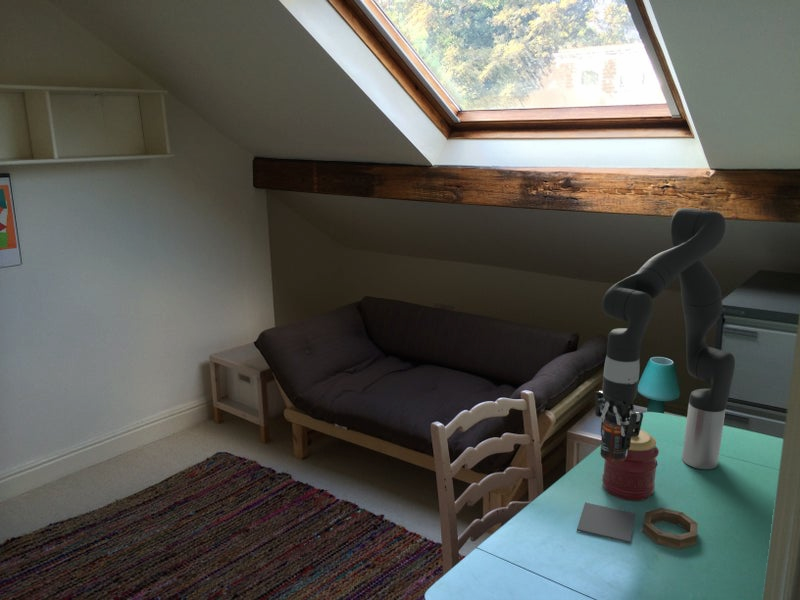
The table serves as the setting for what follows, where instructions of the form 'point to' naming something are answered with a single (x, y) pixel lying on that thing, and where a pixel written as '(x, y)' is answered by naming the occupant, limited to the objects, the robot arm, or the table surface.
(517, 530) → the table surface
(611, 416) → the supplement bottle
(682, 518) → the collar
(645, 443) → the canister
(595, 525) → the coaster
